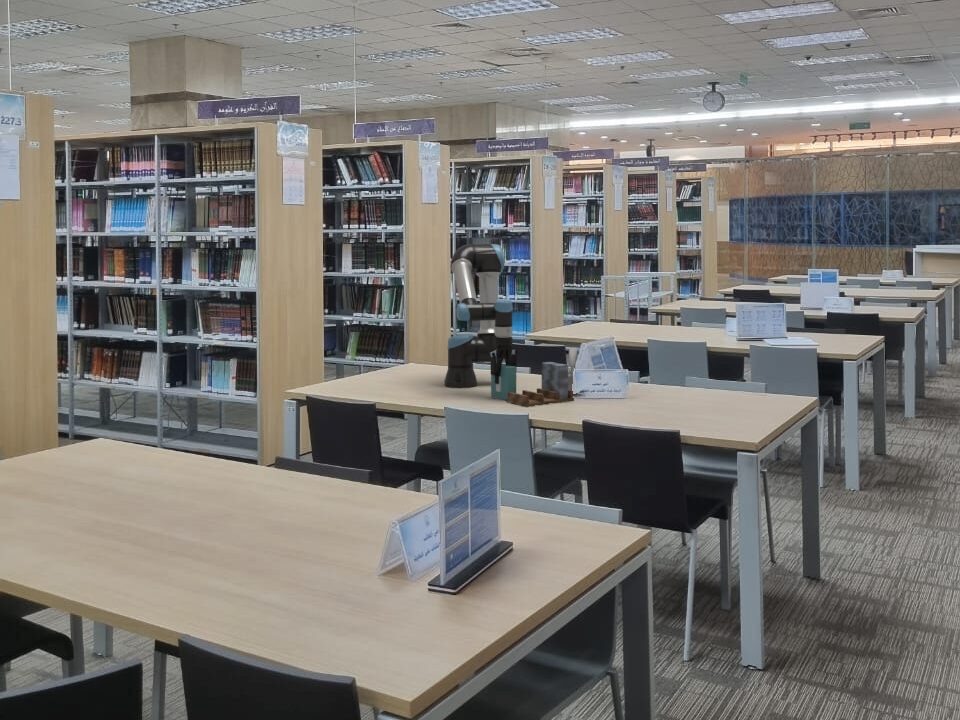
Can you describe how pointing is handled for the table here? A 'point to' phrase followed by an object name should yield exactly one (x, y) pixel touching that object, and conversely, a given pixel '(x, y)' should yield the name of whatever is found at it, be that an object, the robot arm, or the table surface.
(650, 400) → the table surface
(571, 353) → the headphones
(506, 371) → the book block
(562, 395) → the rack
